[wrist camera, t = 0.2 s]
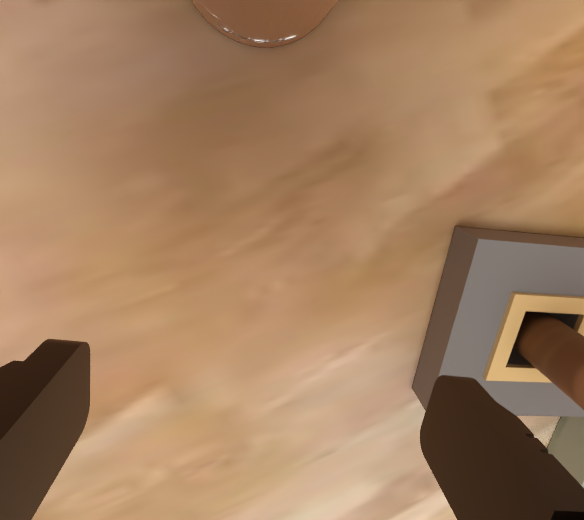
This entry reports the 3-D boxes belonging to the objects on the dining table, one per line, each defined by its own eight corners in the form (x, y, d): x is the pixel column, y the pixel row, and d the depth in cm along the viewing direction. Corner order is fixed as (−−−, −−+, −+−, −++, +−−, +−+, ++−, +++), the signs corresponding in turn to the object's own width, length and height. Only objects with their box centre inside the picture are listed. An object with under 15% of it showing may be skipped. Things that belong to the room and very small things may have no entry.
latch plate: (455, 226, 27) (482, 240, 24) (626, 241, 29) (671, 256, 26) (412, 388, 32) (429, 417, 29) (561, 392, 34) (593, 420, 31)
